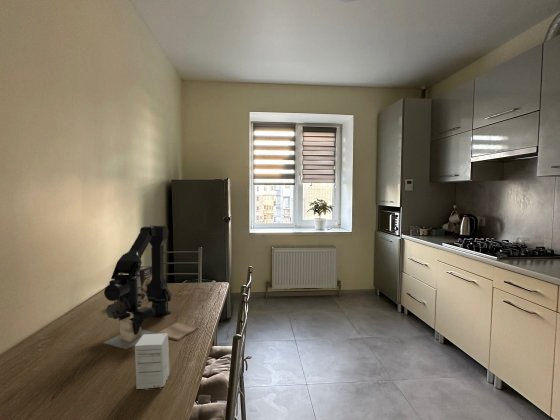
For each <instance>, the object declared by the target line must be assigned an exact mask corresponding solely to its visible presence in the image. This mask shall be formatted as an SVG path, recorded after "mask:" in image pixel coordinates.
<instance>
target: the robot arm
mask: <svg viewBox="0 0 560 420" xmlns="http://www.w3.org/2000/svg"><path fill="white" fill-rule="evenodd" d="M139 230H140V231H139V233H138V235H137V237H136V238H135V240H134V242H133V244H132V245H131V247H130V249H129V250H128V251H127V252H125V253H123V254H122V255H121V257H119V258H118V260H117V261H116V264H115V266H114V270H113V272H112V275H111V277H110V278H111V280H109V282H108V283H109V284H108V285H106V286H105V288H104V290H103V295H104V297H105V298H106V299H107V300H108V301H110V302H113V303H111V304H109V305H108V306H107V307H106V308H105V313H106V315H107V317H108V319H110V318H111V319H114V320H117V319H118V321H119V322H120V320H122V319H125V318H127V317H130V316H131V314H132V316H133V318H131V319H129V320H131V321H132V322H133V330H134V335H136V334H137V333H138V331H139V329H140V327H141V328H142V324H143V322H144V320H146V319H149V318H151V317H155V318H162V317H165V316H166V315H169V314H171V313H172V312H171V311H169V302H171V301H172V297H173V296H172V295H173V294H172V293H171V291H170V290H169V289H168V283H167V282H166V280H165V277H164V260H165V259H164V250H165V249H164V245H165V244H166V242H167V241H168V235H169V228H167V226H166V225H150V226H141V228H140V229H139ZM149 244H150V246H151V266H152V280H151V281H150V283H149V284H147V298H148V299H147V300H148V301H147V302H148V303H151V307H148V306H143V307H142V306H141V305H142V304H141V303H139V302H138V297H139V296H140V293H138V286H137V278H138V277H140V275H139V274H138V271H139V270H140V268H141V266H142V265H143V264H142V263H143V262H142V256H143V255H144V253H145V251H146V250H147V247H148V245H149ZM117 299H118V300H117ZM115 300H117V302H115V303H114V301H115ZM141 307H142V308H141Z"/></svg>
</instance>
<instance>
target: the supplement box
mask: <svg viewBox="0 0 560 420" xmlns="http://www.w3.org/2000/svg"><path fill="white" fill-rule="evenodd" d="M169 353H170V352H169V338H168V333H161V334H144V335H143V336H142V337H141V338H140V340H139V341H138V342H137V344H135V345H134V356H135V357H134V358H135V359H134V360H135V361H134V362H135V381H136V383H135V385H136V386H135V387H136V390H137V389H143V388H154V387H163V386H164V387H165V385H166V383H167V381H166V380H168V378H169V375H170V373H171V372H170V356H169V355H170V354H169Z"/></svg>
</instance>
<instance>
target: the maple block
mask: <svg viewBox="0 0 560 420" xmlns="http://www.w3.org/2000/svg"><path fill="white" fill-rule="evenodd" d="M131 318H133V315H130V317H127V318H125V319H122V320H120V321H119V335H120V339H122V340H126V341H129V342H130V341H132V340H134V339H136V338H138V337H140V336H141V329H142V326H141V327H140V329H139V331H138V333H137V334H136V335H134V330H133V322H132V321H131V320H129V319H131Z"/></svg>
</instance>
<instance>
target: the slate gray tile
mask: <svg viewBox="0 0 560 420" xmlns="http://www.w3.org/2000/svg"><path fill="white" fill-rule="evenodd" d="M156 333H157V332H153V331H149V330H145V329H142V328H141V336H140V337H138V338H136V339H134V340H132V341H130V342H129V341H126V340H122V339H120V334H118V335H116V336H115V337H112V338H109V339H107V340H105V341H104V342H102V343H103V344H107V345H111V346H114V347H117V348H119V349H123V350H127V349H129V348H131V347H133V346H135V345H136V344H137V342H138V341H139V340H140V338H141V337H142V336H143V335H144V334H156Z"/></svg>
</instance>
